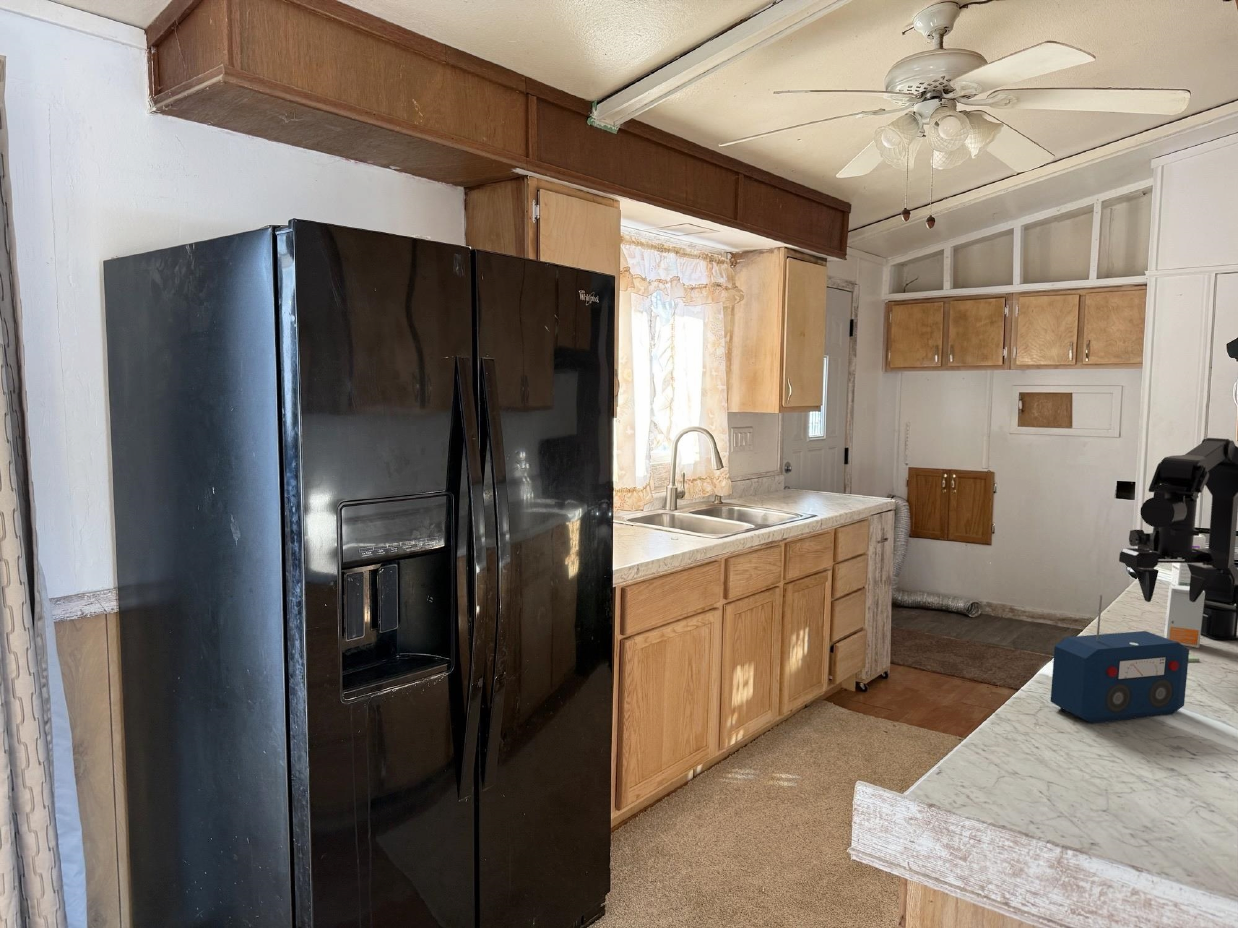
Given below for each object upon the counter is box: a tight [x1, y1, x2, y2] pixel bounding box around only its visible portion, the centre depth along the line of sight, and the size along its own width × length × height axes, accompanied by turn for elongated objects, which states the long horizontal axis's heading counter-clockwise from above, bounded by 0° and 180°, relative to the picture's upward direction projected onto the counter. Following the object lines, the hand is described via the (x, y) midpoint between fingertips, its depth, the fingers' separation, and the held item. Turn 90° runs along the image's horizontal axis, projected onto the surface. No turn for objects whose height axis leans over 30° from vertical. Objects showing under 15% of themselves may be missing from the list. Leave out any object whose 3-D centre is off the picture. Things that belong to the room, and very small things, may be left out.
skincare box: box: [1163, 584, 1205, 649], centre depth 179 cm, size 6×4×12 cm
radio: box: [1050, 594, 1190, 724], centre depth 140 cm, size 21×9×20 cm, turn 105°
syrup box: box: [1170, 533, 1207, 586], centre depth 229 cm, size 6×6×14 cm
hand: (1169, 601), depth 166 cm, fingers open, 9 cm apart
